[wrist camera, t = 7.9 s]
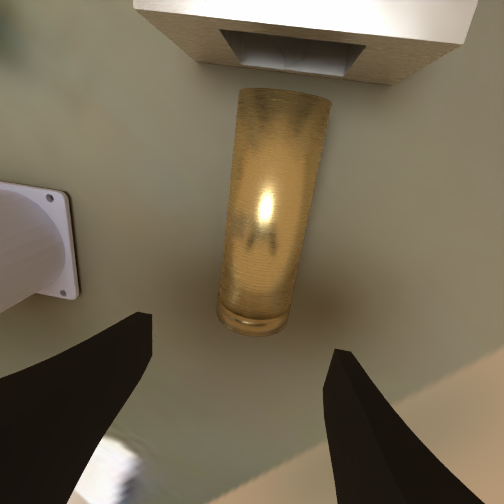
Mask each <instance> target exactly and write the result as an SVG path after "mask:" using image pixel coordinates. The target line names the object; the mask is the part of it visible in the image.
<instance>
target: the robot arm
mask: <svg viewBox="0 0 504 504" xmlns="http://www.w3.org/2000/svg"><path fill="white" fill-rule="evenodd" d="M51 195H52V196H53V198H54V201H53V200H52V198H51ZM64 291H65V292H66V293H65V292H64ZM34 293H38V294H43V295H48V296H53V297H59V298H64V299H69V300H74V299H76V298H77V297H78V296H79V287H78V278H77V270H76V261H75V252H74V244H73V235H72V226H71V217H70V209H69V200H68V197H67V195H66V194H65V193H64V192H62V191H58V190H52V189H46V188H40V187H34V186H28V185H21V184H15V183H9V182H3V181H0V313H2V312H4V311H5V310H7V309H9V308H11V307H12V306H14V305H16V304H17V303H19V302H21V301H22V300H24V299H26V298H28V297H29V296H31V295H33V294H34ZM151 357H152V314H146V313H141V312H136V313H134V314H132V315H130V316H129V317H127V318H125V319H123V320H121V321H120V322H118V323H116V324H114V325H113V326H111V327H109V328H107V329H106V330H104V331H102V332H100V333H98V334H97V335H95V336H93V337H91V338H89V339H87V340H85V341H83V342H82V343H80V344H78V345H76V346H74V347H72V348H70V349H68V350H66V351H64V352H62V353H60V354H58V355H56V356H53V357H51V358H49V359H47V360H45V361H42V362H40V363H38V364H35V365H33V366H31V367H28V368H26V369H24V370H21V371H19V372H16V373H13V374H11V375H8V376H5V377H2V378H0V504H67V502H68V500H69V498H70V496H71V494H72V492H73V490H74V488H75V486H76V484H77V482H78V481H79V479H80V477H81V475H82V473H83V471H84V469H85V468H86V466H87V464H88V462H89V460H90V458H91V456H92V455H93V453H94V451H95V449H96V447H97V446H98V444H99V442H100V441H101V439H102V437H103V436H104V434H105V433H106V431H107V430H108V428H109V427H110V425H111V424H112V422H113V420H114V419H115V417H116V416H117V414H118V413H119V411H120V410H121V408H122V407H123V405H124V404H125V402H126V401H127V399H128V398H129V396H130V395H131V393H132V392H133V390H134V388H135V387H136V385H137V384H138V382H139V381H140V379H141V377H142V375H143V373H144V371H145V369H146V367H147V365H148V363H149V361H150V359H151ZM323 406H324V419H325V426H326V432H327V438H328V444H329V450H330V456H331V462H332V468H333V474H334V480H335V487H336V495H337V503H338V504H485V503H483V502H482V501H481V500H480V499H479V498H478V497H477V496H476V495H475V494H474V493H472V492H471V491H470V490H469V489H468V488H467V487H466V486H465V485H464V484H463V483H462V482H461V481H460V480H459V479H458V478H457V477H456V476H454V474H452V473H451V472H450V471H449V470H448V469H447V468H446V467H445V466H444V465H443V464H442V463H441V462H440V461H439V460H438V459H437V458H436V457H435V455H434V454H433V453H432V452H431V451H430V450H429V449H428V448H427V447H426V446H425V445H424V444H423V443H422V442H421V441H420V440H419V438H418V437H417V436H416V435H415V434H414V433H413V432H412V431H411V429H410V428H409V427H408V426H407V425H406V424H405V422H404V421H403V420H402V419H401V418H400V417H399V415H398V414H397V413H396V412H395V411H394V409H393V408H392V407H391V405H390V404H389V403H388V402H387V400H386V399H385V398H384V396H383V395H382V394H381V392H380V391H379V390H378V389H377V387H376V386H375V384H374V383H373V382H372V380H371V379H370V378H369V376H368V375H367V373H366V372H365V371H364V369H363V368H362V366H361V365H360V363H359V362H358V361H357V359H356V358H355V356H354V355H353V354H352V352H350V351H344V350H339V349H335V350H334V353H333V357H332V360H331V363H330V367H329V370H328V373H327V377H326V380H325V383H324V387H323Z"/></svg>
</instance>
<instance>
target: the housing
mask: <svg viewBox="0 0 504 504" xmlns="http://www.w3.org/2000/svg"><path fill="white" fill-rule="evenodd" d="M477 3H478V0H133V9H135V10H136V11H137V12H138V13H139V14H141V15H142V16H143V17H144V18H145V19H146V20H148V21H149V22H150V23H151V24H152V25H154V26H155V27H156V28H157V29H158V30H160V31H161V32H162V33H163V34H164V35H165V36H167V37H168V38H169V39H170V40H171V41H173V42H174V43H175V44H176V45H177V46H179V47H180V48H181V49H182V50H183V51H184V52H186V53H187V54H188V55H189V56H190V57H192V58H193V59H194V60H195V61H196V62H203V63H212V64H220V65H228V66H237V67H245V68H253V69H261V70H270V71H278V72H286V73H294V74H303V75H311V76H319V77H327V78H336V79H344V80H352V81H361V82H369V83H377V84H385V85H393V84H395V83H396V82H398V81H400V80H402V79H403V78H405V77H407V76H409V75H410V74H412V73H414V72H416V71H417V70H419V69H421V68H423V67H424V66H426V65H428V64H430V63H431V62H433V61H435V60H437V59H438V58H440V57H442V56H444V55H445V54H447V53H449V52H451V51H452V50H454V49H456V48H458V47H460V46H461V45H463V44H464V41H465V38H466V35H467V32H468V29H469V26H470V23H471V20H472V17H473V14H474V11H475V8H476V6H477Z"/></svg>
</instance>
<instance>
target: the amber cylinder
mask: <svg viewBox="0 0 504 504" xmlns="http://www.w3.org/2000/svg"><path fill="white" fill-rule="evenodd" d="M331 106H332V102H331V101H329V100H327V99H325V98H322V97H318V96H314V95H310V94H305V93H300V92H294V91H287V90H279V89H268V88H245V89H241V90H239V98H238V109H237V119H236V129H235V139H234V149H233V160H232V170H231V180H230V190H229V200H228V211H227V221H226V231H225V241H224V251H223V262H222V272H221V282H220V291H219V294H218V304H217V316H218V318H219V320H220V321H221V323H222V324H223V325H225V326H226V327H227V328H229V329H230V330H232V331H234V332H237V333H240V334H243V335H247V336H256V337H262V336H269V335H273V334H276V333H278V332H280V331H281V330H282V329H283V328H284V327H285V326H286V324H287V321H288V316H289V311H290V306H291V304H290V302H291V297H292V292H293V288H294V283H295V278H296V273H297V268H298V264H299V259H300V254H301V249H302V244H303V240H304V235H305V230H306V225H307V220H308V216H309V211H310V206H311V201H312V197H313V192H314V187H315V182H316V177H317V173H318V168H319V163H320V158H321V153H322V149H323V144H324V139H325V134H326V130H327V125H328V120H329V115H330V110H331Z"/></svg>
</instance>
